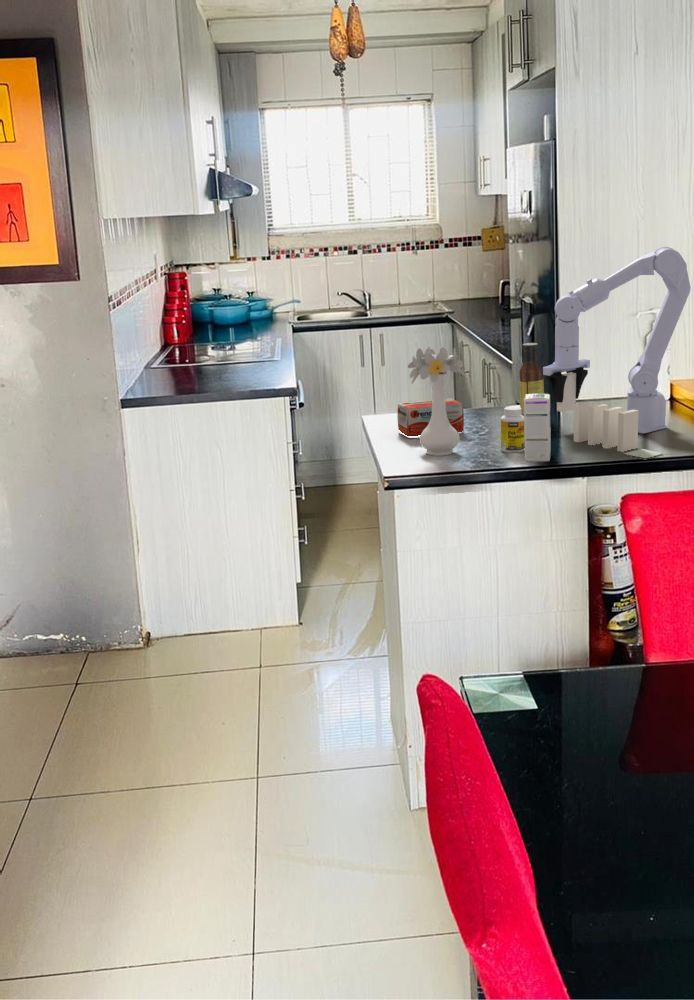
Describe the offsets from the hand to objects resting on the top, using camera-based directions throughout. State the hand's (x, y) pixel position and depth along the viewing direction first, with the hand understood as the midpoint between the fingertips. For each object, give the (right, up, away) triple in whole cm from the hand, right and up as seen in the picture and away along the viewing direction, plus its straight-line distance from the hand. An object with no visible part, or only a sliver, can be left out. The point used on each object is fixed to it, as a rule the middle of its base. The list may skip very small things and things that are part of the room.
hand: (566, 400), depth 264 cm
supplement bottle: (-16, -14, -15) cm, 26 cm away
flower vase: (-33, -14, -14) cm, 39 cm away
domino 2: (+2, -10, -9) cm, 14 cm away
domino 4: (+7, -12, -16) cm, 21 cm away
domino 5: (+10, -13, -19) cm, 26 cm away
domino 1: (0, -2, +1) cm, 2 cm away
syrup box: (-11, -16, -23) cm, 30 cm away
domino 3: (+5, -11, -12) cm, 17 cm away
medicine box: (-33, -8, +6) cm, 35 cm away
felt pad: (+12, -15, -24) cm, 31 cm away
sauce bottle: (-6, -4, +16) cm, 17 cm away
